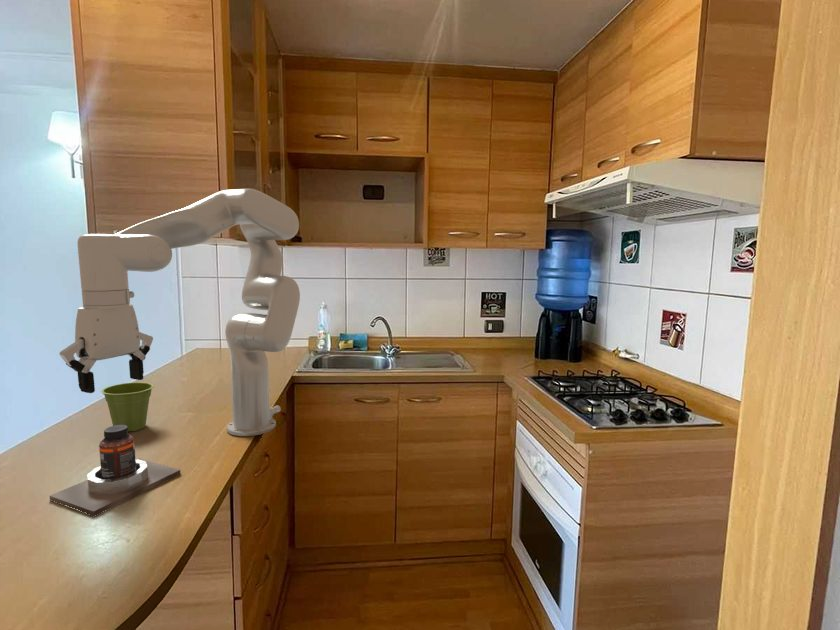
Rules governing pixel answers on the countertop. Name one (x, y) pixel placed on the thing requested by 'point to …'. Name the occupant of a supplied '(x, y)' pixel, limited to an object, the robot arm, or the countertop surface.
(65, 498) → the holder board
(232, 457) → the countertop surface
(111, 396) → the plant pot
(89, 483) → the steel collar
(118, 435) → the supplement bottle
